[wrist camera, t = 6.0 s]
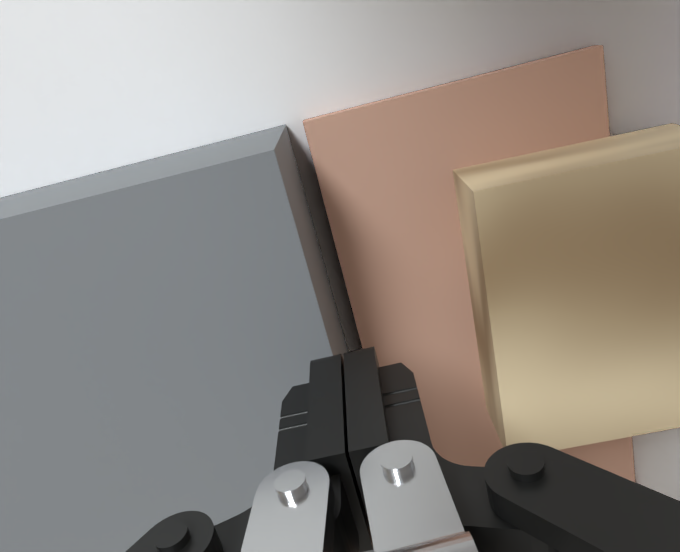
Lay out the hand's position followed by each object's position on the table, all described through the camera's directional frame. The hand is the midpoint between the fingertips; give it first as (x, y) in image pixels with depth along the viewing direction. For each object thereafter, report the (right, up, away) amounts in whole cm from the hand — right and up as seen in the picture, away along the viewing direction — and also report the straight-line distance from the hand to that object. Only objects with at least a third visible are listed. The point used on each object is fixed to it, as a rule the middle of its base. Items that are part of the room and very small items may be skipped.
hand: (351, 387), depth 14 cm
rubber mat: (+5, -2, +6) cm, 9 cm away
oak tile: (+7, +2, +3) cm, 7 cm away
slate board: (-5, -5, +7) cm, 10 cm away
